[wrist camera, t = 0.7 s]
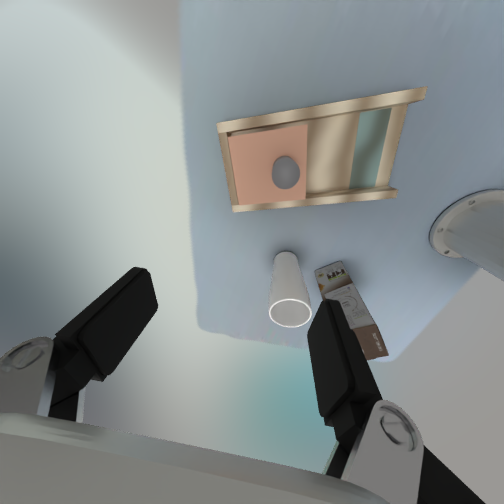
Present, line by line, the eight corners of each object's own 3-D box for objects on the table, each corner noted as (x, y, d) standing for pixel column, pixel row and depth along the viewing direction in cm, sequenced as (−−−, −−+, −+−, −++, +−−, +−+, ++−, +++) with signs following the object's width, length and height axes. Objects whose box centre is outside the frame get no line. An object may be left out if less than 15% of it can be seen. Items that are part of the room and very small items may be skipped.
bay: (406, 94, 24) (427, 86, 21) (382, 191, 31) (396, 197, 27) (223, 125, 28) (216, 123, 25) (237, 205, 35) (232, 212, 32)
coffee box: (312, 270, 41) (331, 334, 27) (341, 259, 39) (376, 323, 25) (327, 296, 45) (350, 364, 31) (354, 288, 42) (391, 357, 29)
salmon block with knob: (301, 127, 26) (317, 118, 16) (300, 190, 31) (312, 212, 21) (236, 138, 28) (213, 135, 18) (244, 195, 33) (230, 219, 22)
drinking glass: (264, 257, 41) (259, 309, 28) (289, 242, 38) (296, 292, 25) (282, 276, 43) (284, 332, 30) (306, 263, 40) (321, 318, 27)
